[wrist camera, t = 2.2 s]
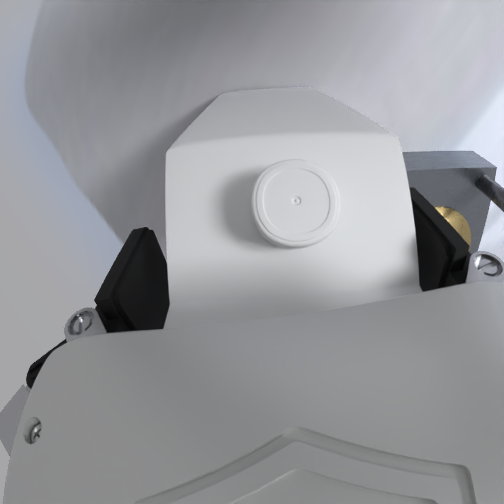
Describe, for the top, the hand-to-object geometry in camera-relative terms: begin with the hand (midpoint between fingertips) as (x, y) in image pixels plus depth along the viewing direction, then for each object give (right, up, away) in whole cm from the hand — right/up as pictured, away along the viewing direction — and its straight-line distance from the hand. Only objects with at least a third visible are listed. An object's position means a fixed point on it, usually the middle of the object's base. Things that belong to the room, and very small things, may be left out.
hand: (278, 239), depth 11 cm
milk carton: (+1, +9, +11) cm, 15 cm away
